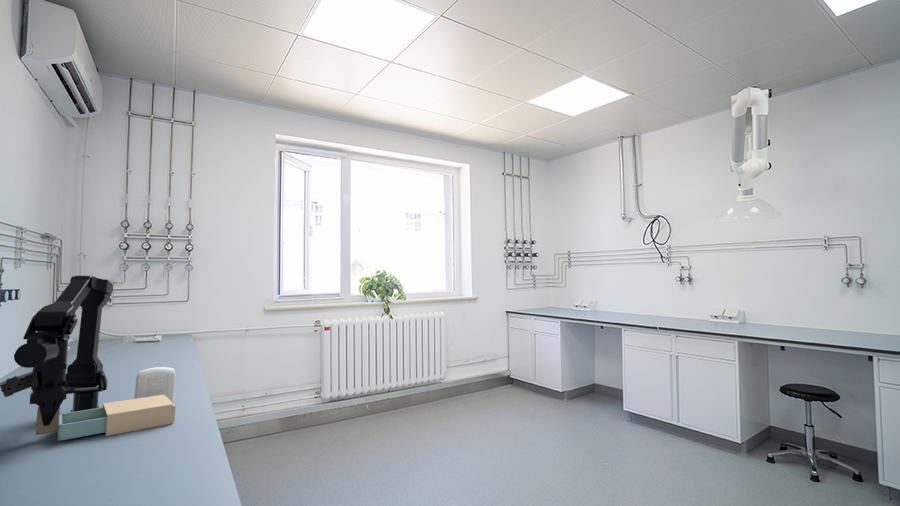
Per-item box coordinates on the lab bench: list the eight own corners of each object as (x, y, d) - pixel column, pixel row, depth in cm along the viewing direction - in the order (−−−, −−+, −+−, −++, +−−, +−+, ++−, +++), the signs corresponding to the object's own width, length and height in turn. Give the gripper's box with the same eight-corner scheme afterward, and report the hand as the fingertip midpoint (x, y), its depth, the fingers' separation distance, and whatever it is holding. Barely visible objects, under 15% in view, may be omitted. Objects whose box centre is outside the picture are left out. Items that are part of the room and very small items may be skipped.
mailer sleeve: (101, 422, 115) (103, 403, 116) (164, 411, 125) (165, 394, 126) (106, 435, 105) (107, 414, 106) (174, 423, 115) (175, 403, 116)
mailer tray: (36, 431, 106) (38, 402, 106) (125, 416, 118) (127, 390, 119) (34, 445, 97) (36, 413, 98) (130, 427, 109) (132, 399, 110)
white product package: (174, 403, 134) (176, 364, 135) (174, 407, 130) (176, 366, 131) (134, 408, 128) (136, 368, 129) (133, 412, 125) (135, 370, 126)
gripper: (7, 359, 105) (2, 422, 104) (0, 370, 92) (-6, 443, 91) (67, 354, 113) (63, 413, 112) (68, 364, 99) (63, 431, 98)
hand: (46, 424), depth 103 cm, fingers closed on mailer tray
